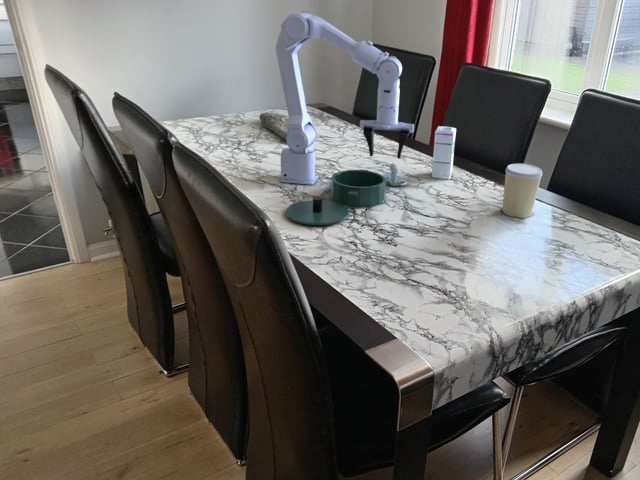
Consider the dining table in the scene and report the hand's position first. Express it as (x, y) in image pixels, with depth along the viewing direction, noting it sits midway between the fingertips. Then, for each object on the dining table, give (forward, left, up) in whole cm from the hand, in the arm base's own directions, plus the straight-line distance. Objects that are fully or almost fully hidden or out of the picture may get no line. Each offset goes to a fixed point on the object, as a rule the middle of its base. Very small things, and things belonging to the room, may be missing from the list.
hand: (385, 156), depth 160 cm
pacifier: (+3, +5, -10) cm, 12 cm away
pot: (-6, -9, -10) cm, 14 cm away
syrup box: (+16, +16, -10) cm, 25 cm away
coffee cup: (+37, -9, -10) cm, 39 cm away
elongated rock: (-44, +51, -10) cm, 68 cm away
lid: (-14, -24, -9) cm, 29 cm away
